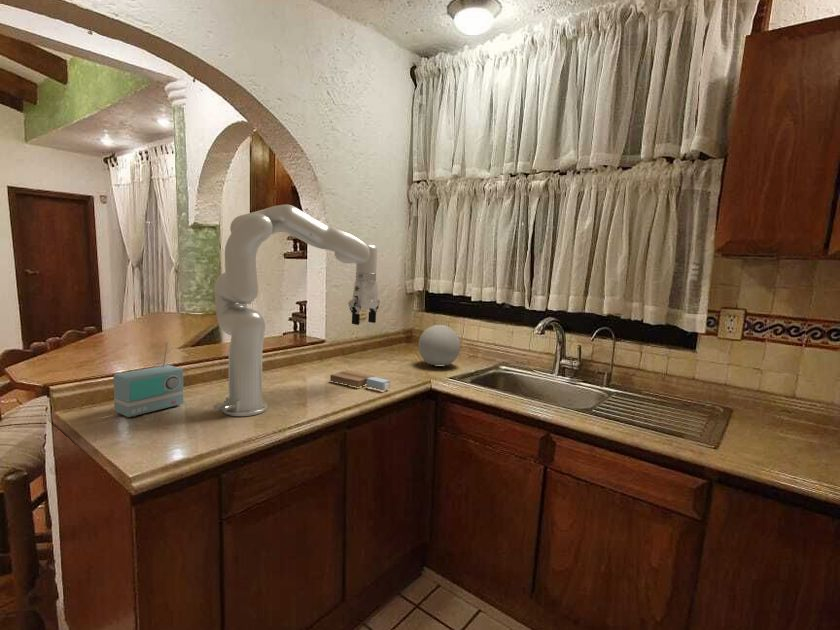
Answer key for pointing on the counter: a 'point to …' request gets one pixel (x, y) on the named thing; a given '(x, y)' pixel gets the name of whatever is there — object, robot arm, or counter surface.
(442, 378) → the counter surface
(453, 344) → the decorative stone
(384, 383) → the block
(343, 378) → the brown box
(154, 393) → the radio
